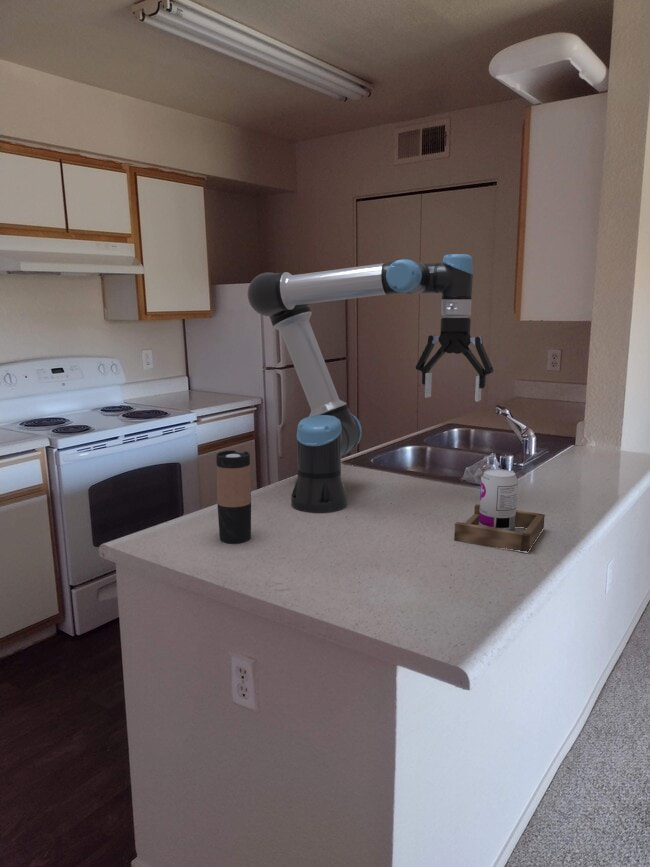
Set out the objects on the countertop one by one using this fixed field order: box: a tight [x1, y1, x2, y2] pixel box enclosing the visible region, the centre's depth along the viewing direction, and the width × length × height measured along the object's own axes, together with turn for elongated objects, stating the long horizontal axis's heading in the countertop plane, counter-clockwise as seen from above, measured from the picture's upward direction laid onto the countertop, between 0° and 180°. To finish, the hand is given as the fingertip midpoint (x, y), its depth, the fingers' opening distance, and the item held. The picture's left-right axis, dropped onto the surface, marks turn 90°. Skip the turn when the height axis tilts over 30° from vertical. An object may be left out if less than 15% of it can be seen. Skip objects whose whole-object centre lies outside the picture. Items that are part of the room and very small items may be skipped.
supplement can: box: [478, 468, 519, 532], centre depth 150 cm, size 8×8×15 cm
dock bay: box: [453, 503, 546, 552], centre depth 151 cm, size 16×17×4 cm
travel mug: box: [215, 449, 252, 545], centre depth 147 cm, size 8×8×20 cm
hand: (452, 399), depth 170 cm, fingers open, 13 cm apart
